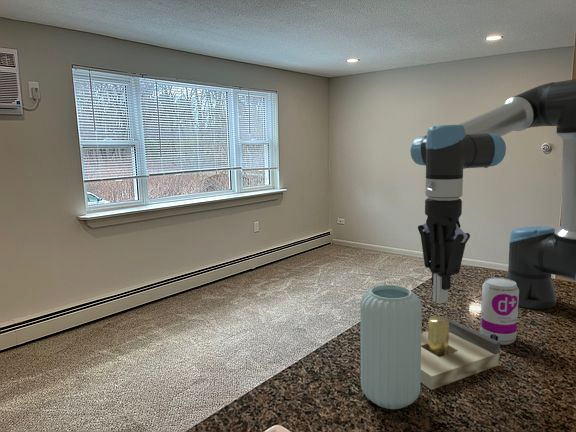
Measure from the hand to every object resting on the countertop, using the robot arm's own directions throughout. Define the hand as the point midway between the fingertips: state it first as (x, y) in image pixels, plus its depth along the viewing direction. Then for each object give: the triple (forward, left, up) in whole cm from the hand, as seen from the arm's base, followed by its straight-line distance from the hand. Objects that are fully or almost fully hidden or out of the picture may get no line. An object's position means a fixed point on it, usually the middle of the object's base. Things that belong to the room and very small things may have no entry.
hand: (440, 301), depth 95 cm
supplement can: (-21, -1, -15) cm, 26 cm away
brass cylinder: (0, 0, -14) cm, 14 cm away
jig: (0, 0, -14) cm, 14 cm away
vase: (+19, +6, -15) cm, 25 cm away
